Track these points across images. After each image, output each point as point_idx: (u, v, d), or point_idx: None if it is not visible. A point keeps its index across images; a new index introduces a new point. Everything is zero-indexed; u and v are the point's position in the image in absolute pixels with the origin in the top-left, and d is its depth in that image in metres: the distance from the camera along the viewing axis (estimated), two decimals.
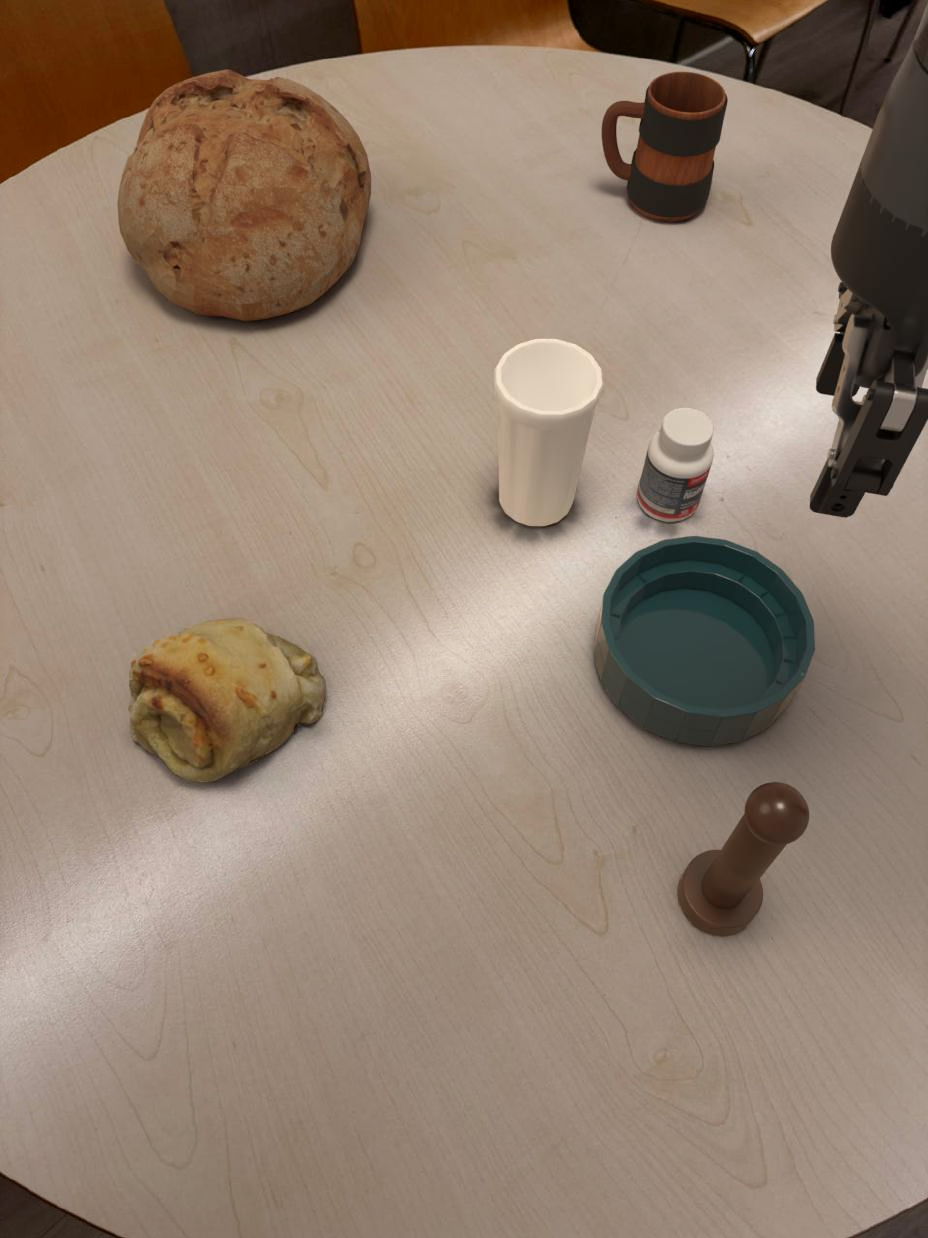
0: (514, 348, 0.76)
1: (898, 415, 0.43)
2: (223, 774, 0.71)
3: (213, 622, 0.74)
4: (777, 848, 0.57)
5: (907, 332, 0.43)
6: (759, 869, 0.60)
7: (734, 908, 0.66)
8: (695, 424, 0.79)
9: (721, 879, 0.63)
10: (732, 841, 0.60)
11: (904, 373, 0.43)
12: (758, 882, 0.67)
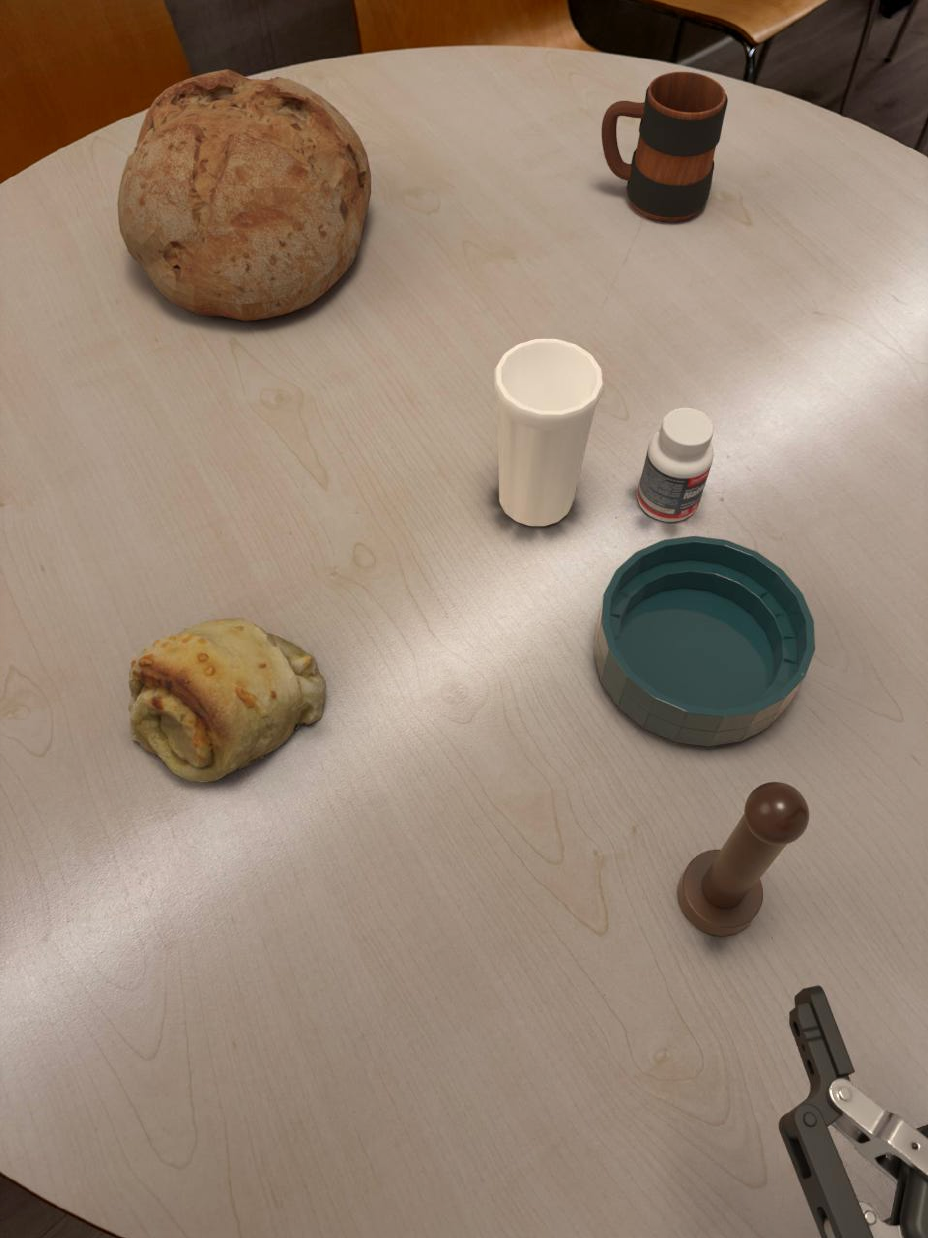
0: (514, 348, 0.76)
1: None
2: (223, 774, 0.71)
3: (213, 622, 0.74)
4: (777, 848, 0.57)
5: None
6: (759, 869, 0.60)
7: (734, 908, 0.66)
8: (695, 424, 0.79)
9: (721, 879, 0.63)
10: (732, 841, 0.60)
11: None
12: (758, 882, 0.67)
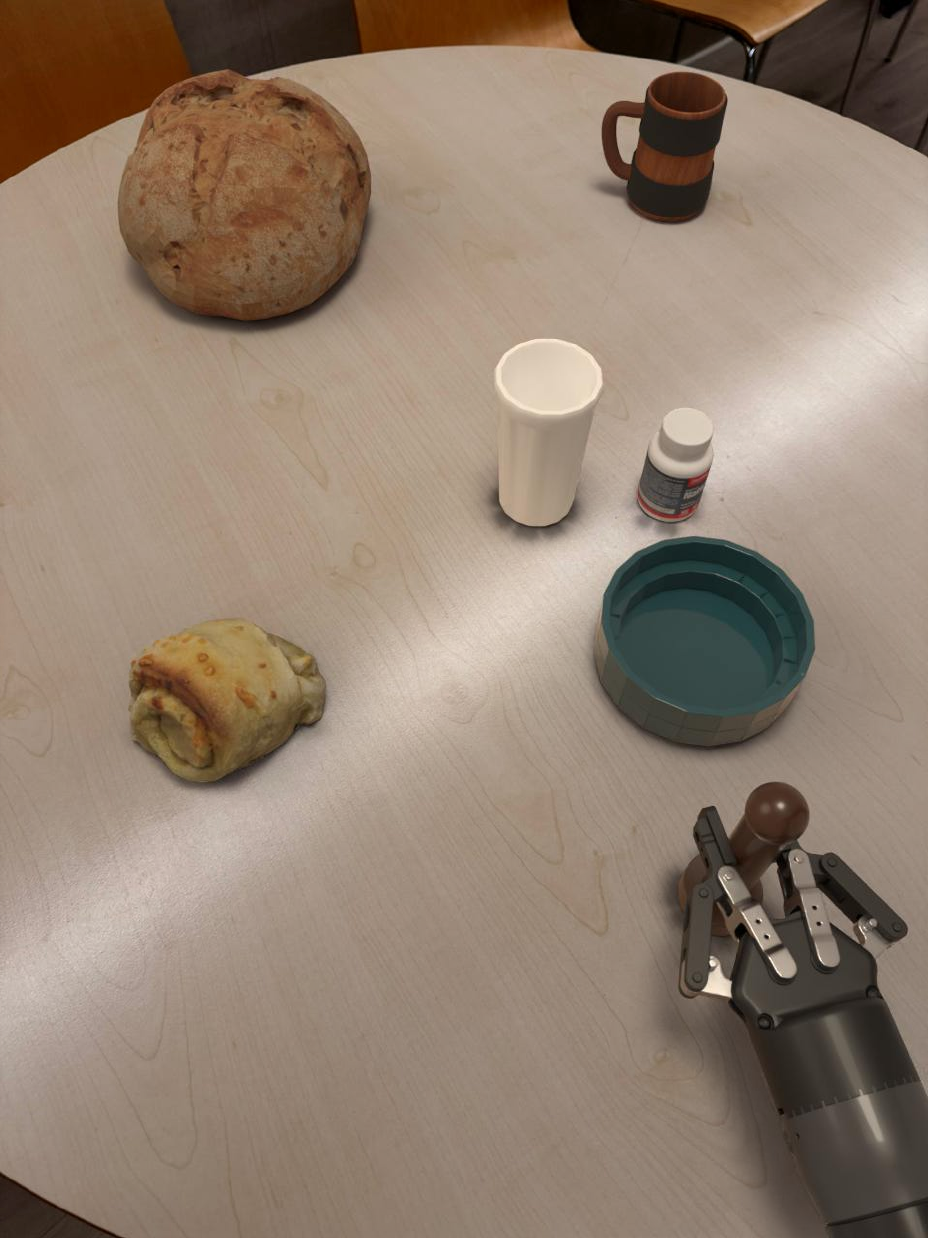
0: (514, 348, 0.76)
1: None
2: (223, 774, 0.71)
3: (213, 622, 0.74)
4: (777, 848, 0.57)
5: None
6: (759, 869, 0.60)
7: None
8: (695, 424, 0.79)
9: None
10: (732, 841, 0.60)
11: None
12: (758, 882, 0.67)
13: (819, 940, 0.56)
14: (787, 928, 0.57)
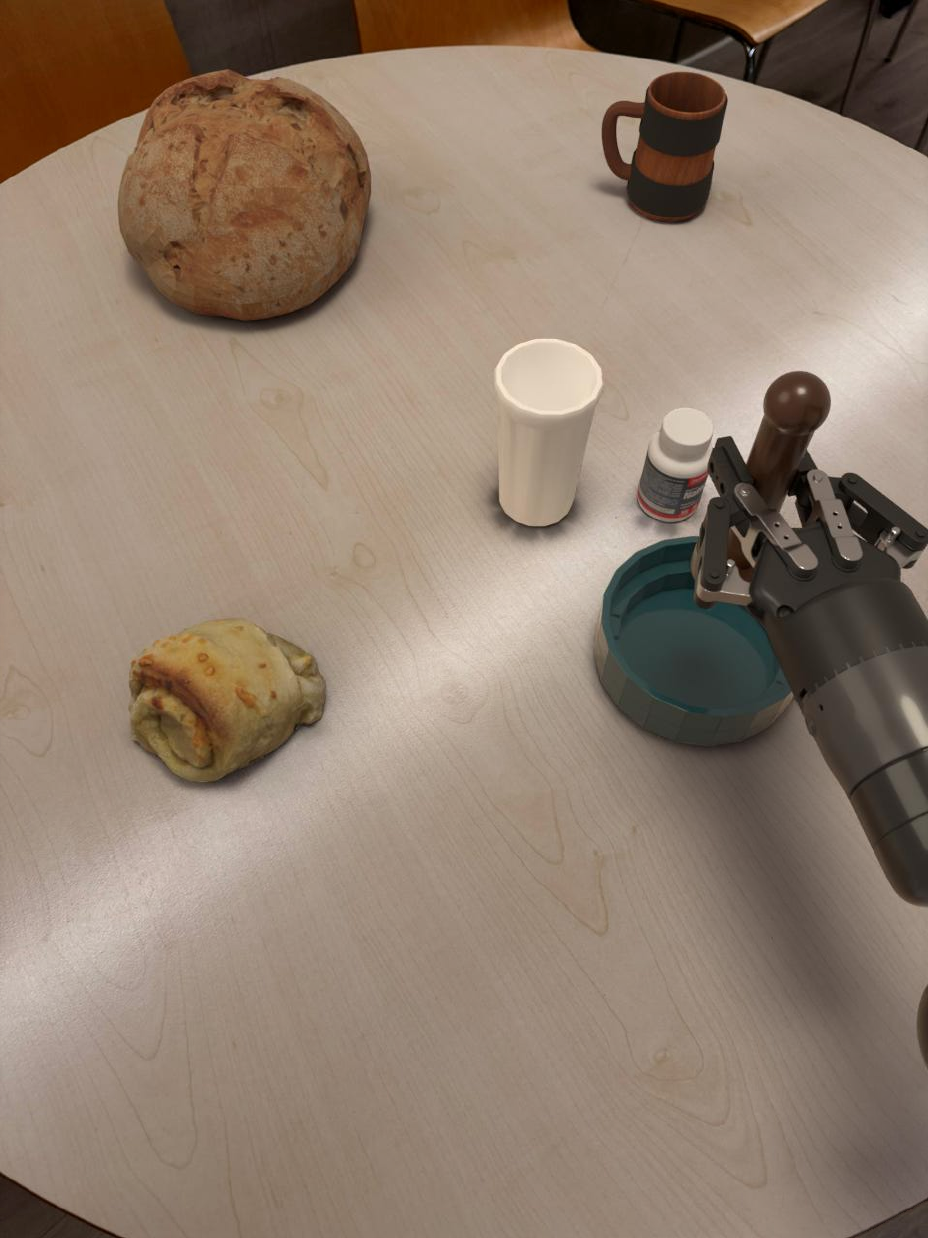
0: (514, 348, 0.76)
1: None
2: (223, 774, 0.71)
3: (213, 622, 0.74)
4: (797, 445, 0.55)
5: None
6: (777, 488, 0.58)
7: (749, 568, 0.64)
8: (695, 424, 0.79)
9: None
10: (749, 459, 0.58)
11: (905, 562, 0.56)
12: None
13: (840, 538, 0.54)
14: (807, 535, 0.55)
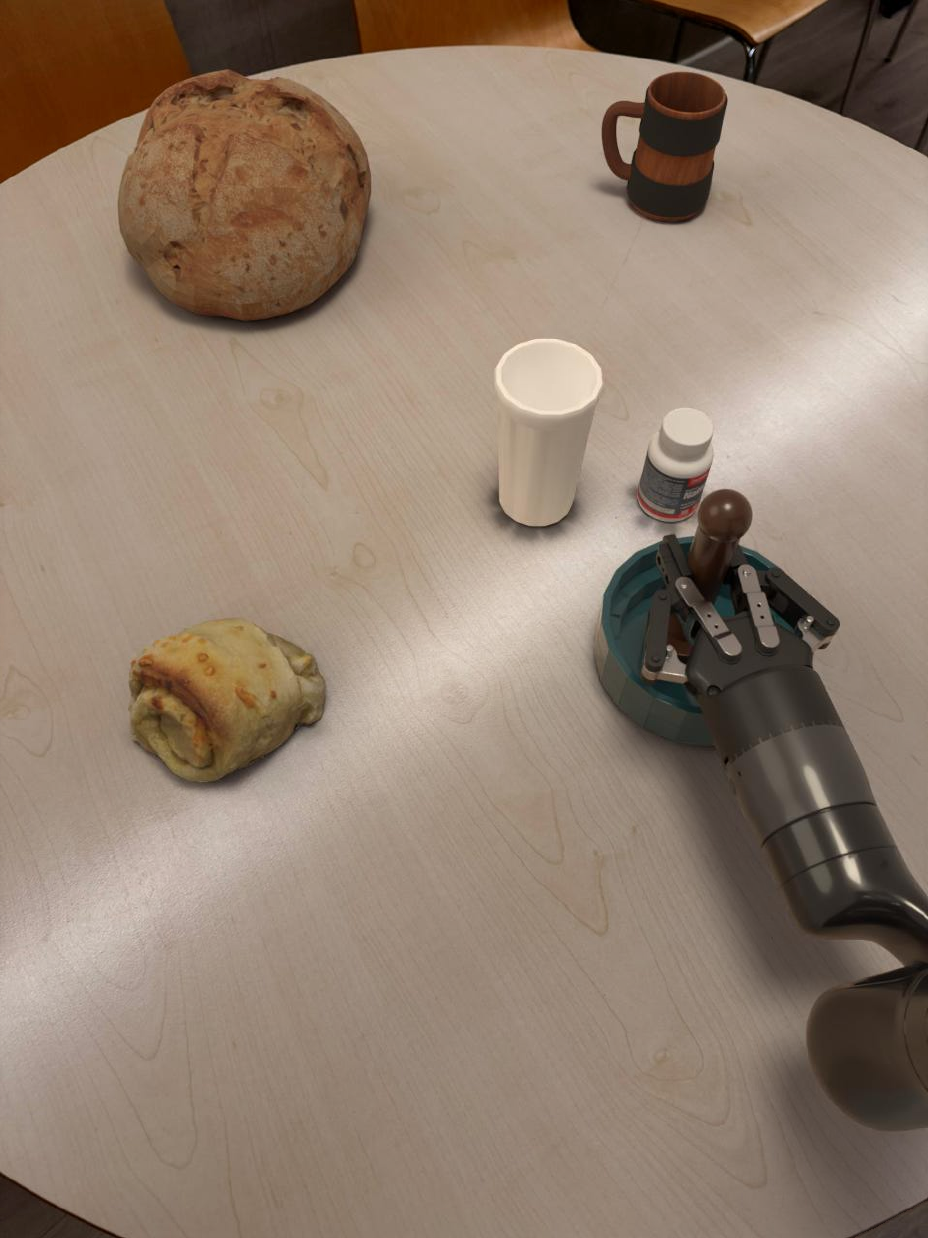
0: (514, 348, 0.76)
1: None
2: (223, 774, 0.71)
3: (213, 622, 0.74)
4: (726, 549, 0.65)
5: None
6: (712, 581, 0.68)
7: None
8: (695, 424, 0.79)
9: None
10: (689, 556, 0.68)
11: (818, 645, 0.66)
12: None
13: (762, 628, 0.65)
14: (735, 623, 0.66)
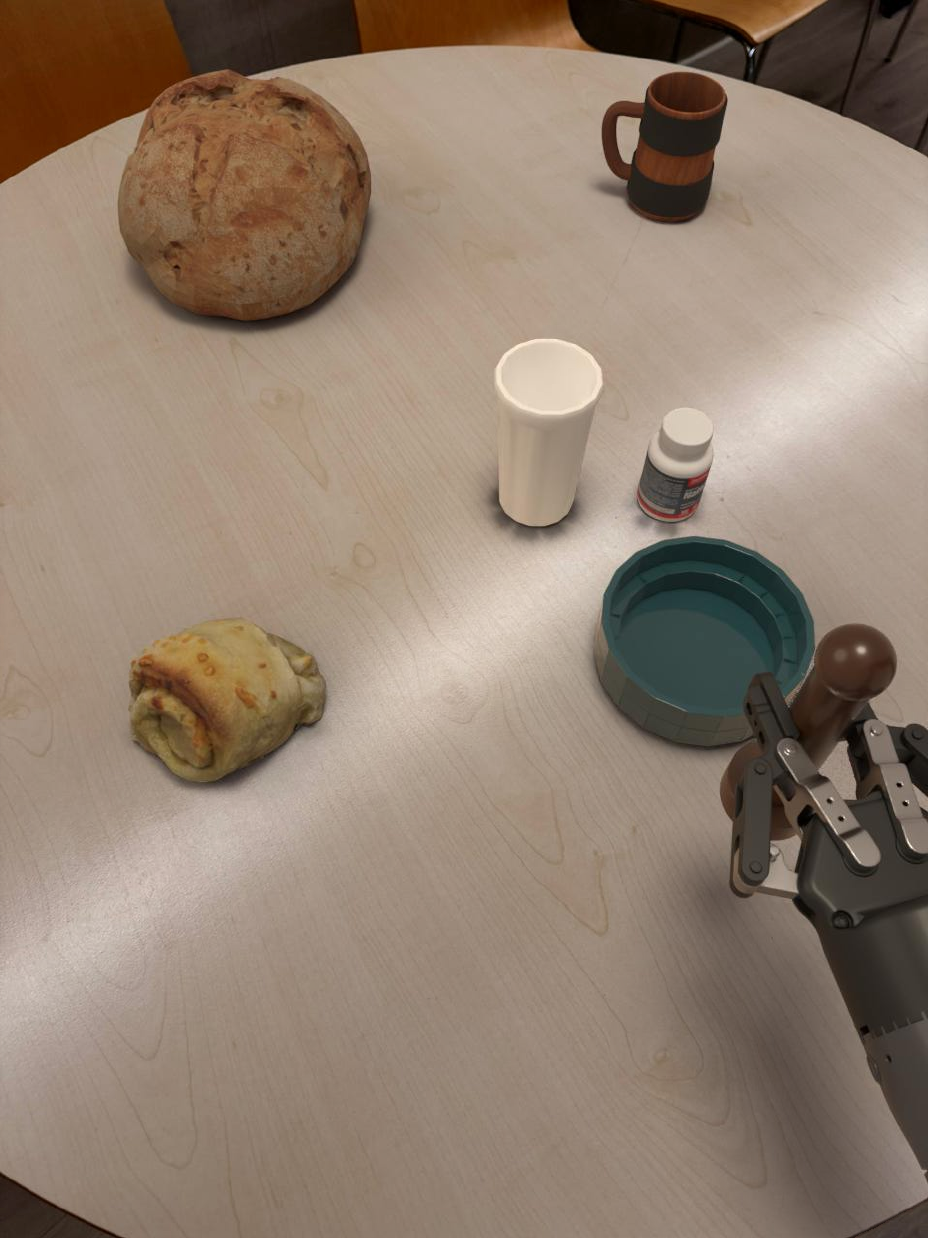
0: (514, 348, 0.76)
1: None
2: (223, 774, 0.71)
3: (213, 622, 0.74)
4: (855, 708, 0.46)
5: None
6: (828, 743, 0.48)
7: None
8: (695, 424, 0.79)
9: None
10: (795, 708, 0.48)
11: None
12: None
13: (907, 822, 0.45)
14: (865, 810, 0.46)
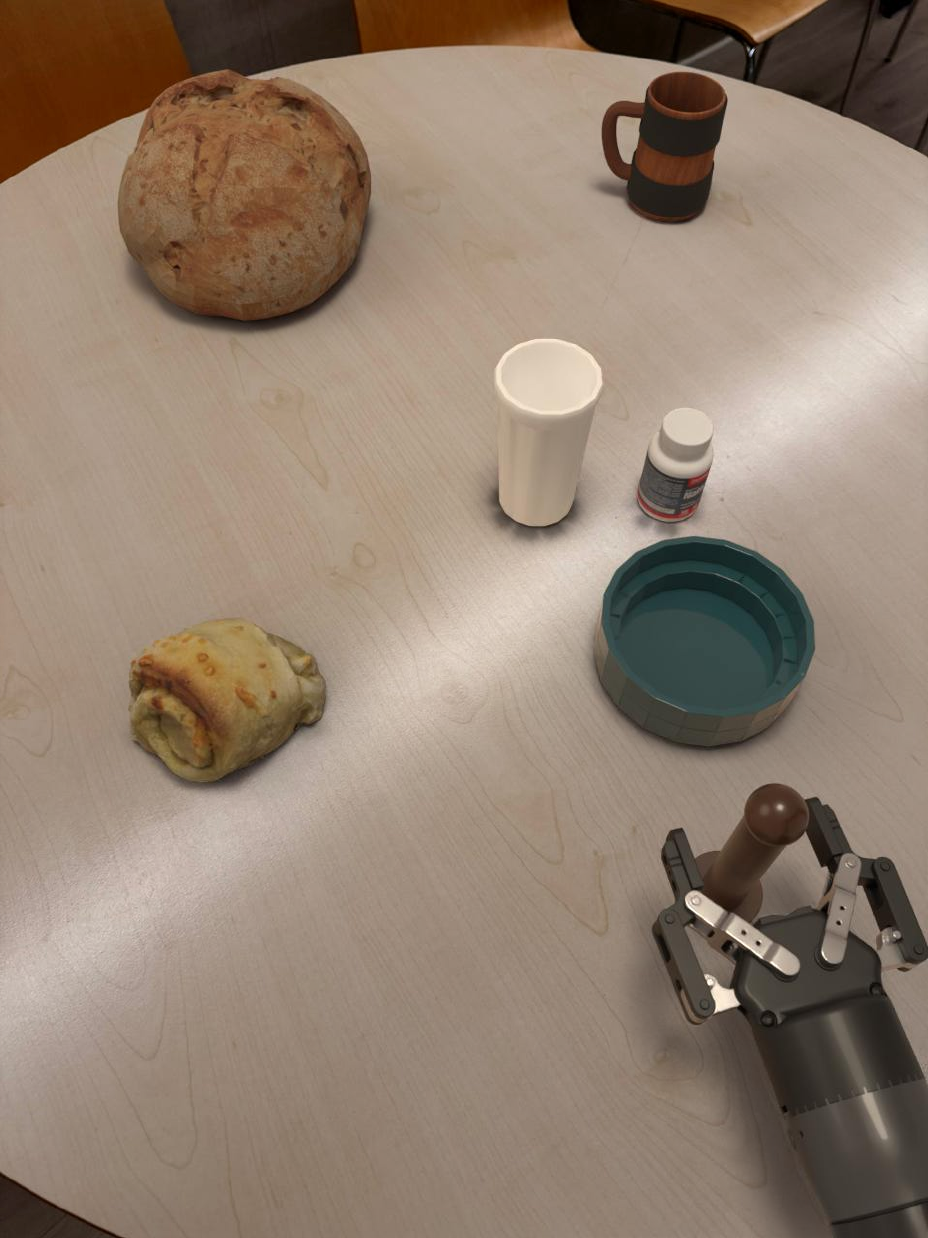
0: (514, 348, 0.76)
1: None
2: (223, 774, 0.71)
3: (213, 622, 0.74)
4: (777, 849, 0.57)
5: None
6: (759, 870, 0.60)
7: (734, 909, 0.66)
8: (695, 424, 0.79)
9: (721, 881, 0.63)
10: (732, 842, 0.60)
11: (894, 967, 0.57)
12: (758, 883, 0.67)
13: (830, 935, 0.56)
14: (790, 925, 0.57)
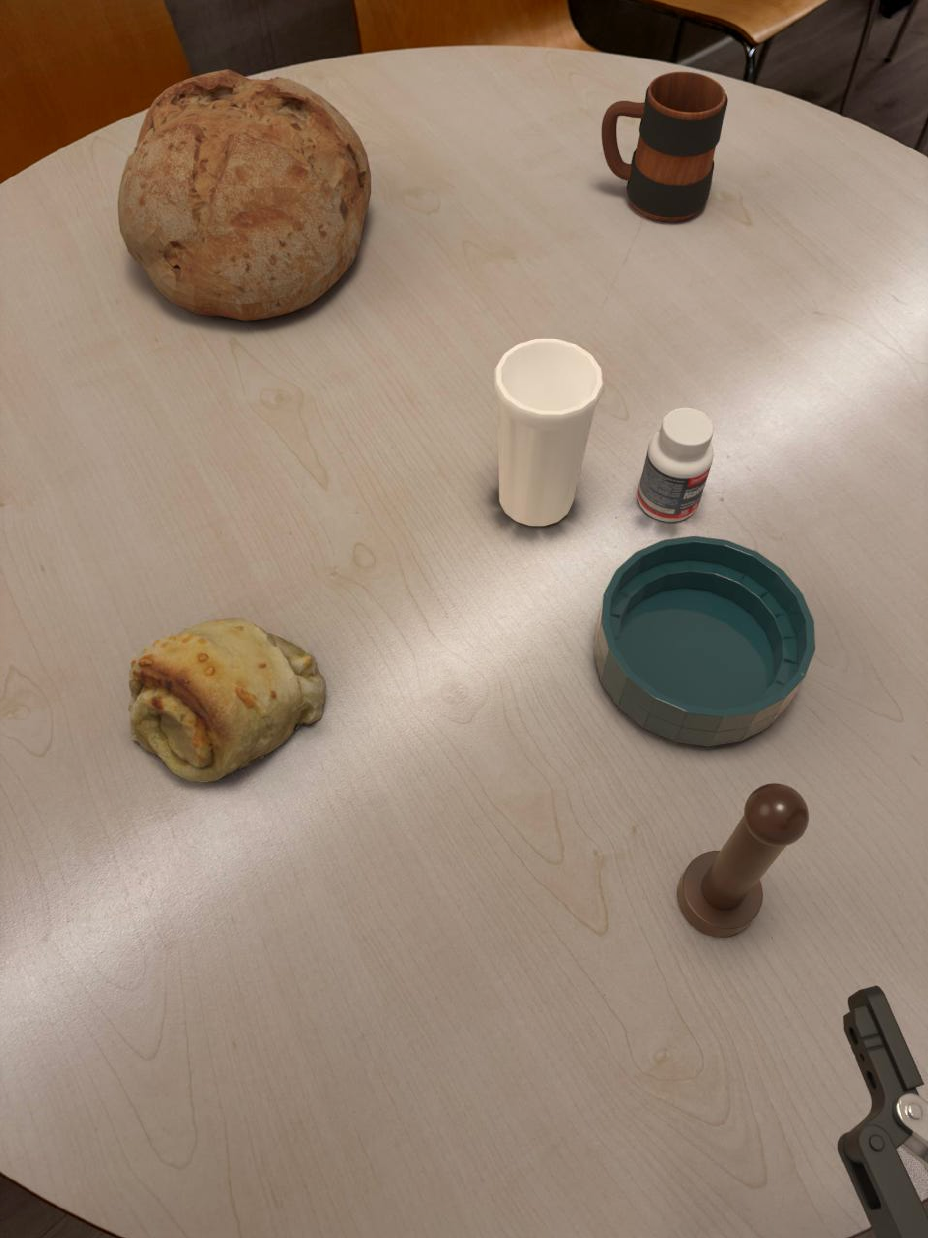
0: (514, 348, 0.76)
1: None
2: (223, 774, 0.71)
3: (213, 622, 0.74)
4: (777, 849, 0.57)
5: None
6: (759, 870, 0.60)
7: (734, 909, 0.66)
8: (695, 424, 0.79)
9: (721, 881, 0.63)
10: (732, 842, 0.60)
11: None
12: (758, 883, 0.67)
13: None
14: None
